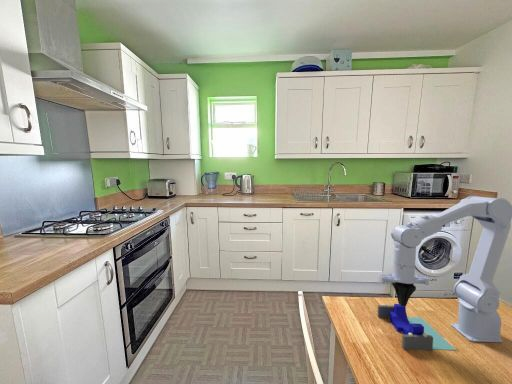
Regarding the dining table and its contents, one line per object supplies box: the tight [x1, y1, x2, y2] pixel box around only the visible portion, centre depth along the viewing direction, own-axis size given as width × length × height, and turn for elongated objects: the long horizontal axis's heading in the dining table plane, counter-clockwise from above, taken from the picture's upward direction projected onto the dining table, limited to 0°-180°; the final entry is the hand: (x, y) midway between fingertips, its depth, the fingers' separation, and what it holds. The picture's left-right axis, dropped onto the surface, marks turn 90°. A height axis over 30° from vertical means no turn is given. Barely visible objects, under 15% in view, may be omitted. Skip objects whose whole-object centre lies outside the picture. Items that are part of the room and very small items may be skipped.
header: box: [376, 303, 434, 352], centre depth 73 cm, size 8×16×5 cm, turn 177°
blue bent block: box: [388, 303, 424, 335], centre depth 73 cm, size 12×4×6 cm, turn 172°
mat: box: [407, 316, 457, 351], centre depth 73 cm, size 8×15×1 cm, turn 177°
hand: (402, 304), depth 73 cm, fingers closed
